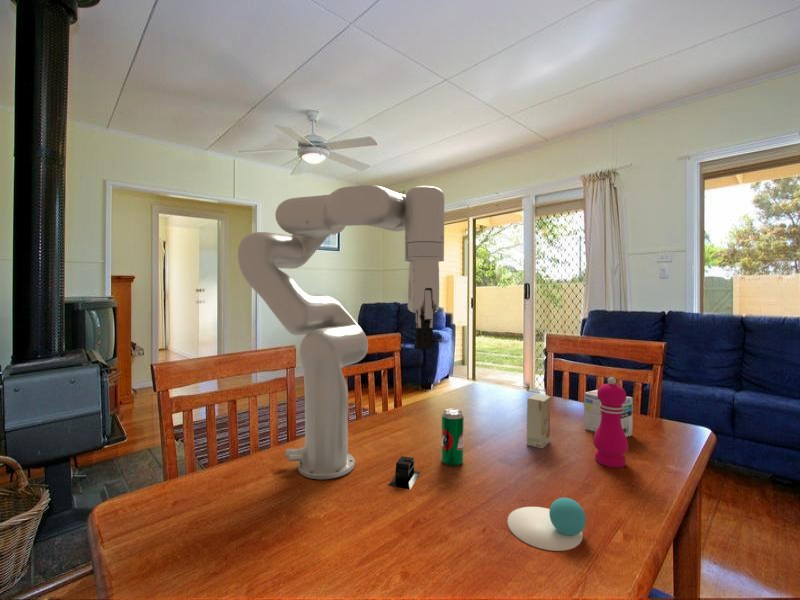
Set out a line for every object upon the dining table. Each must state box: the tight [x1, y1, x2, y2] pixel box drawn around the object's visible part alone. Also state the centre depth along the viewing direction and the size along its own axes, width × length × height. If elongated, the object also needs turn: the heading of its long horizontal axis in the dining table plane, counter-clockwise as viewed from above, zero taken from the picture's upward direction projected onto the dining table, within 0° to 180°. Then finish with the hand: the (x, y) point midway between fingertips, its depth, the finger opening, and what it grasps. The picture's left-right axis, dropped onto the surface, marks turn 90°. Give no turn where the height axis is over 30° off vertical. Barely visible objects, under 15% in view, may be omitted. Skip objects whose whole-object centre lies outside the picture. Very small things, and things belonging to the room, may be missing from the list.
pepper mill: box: [592, 376, 629, 469], centre depth 93 cm, size 7×7×20 cm
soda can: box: [440, 408, 465, 467], centre depth 92 cm, size 5×5×12 cm
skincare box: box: [526, 393, 552, 449], centre depth 104 cm, size 6×4×12 cm
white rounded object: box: [506, 506, 583, 552], centre depth 68 cm, size 12×12×1 cm
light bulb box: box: [583, 389, 634, 438], centre depth 112 cm, size 11×7×11 cm, turn 34°
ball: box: [549, 497, 587, 536], centre depth 66 cm, size 6×6×6 cm
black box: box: [387, 456, 422, 490], centre depth 85 cm, size 12×7×5 cm, turn 161°
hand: (423, 348), depth 77 cm, fingers closed
